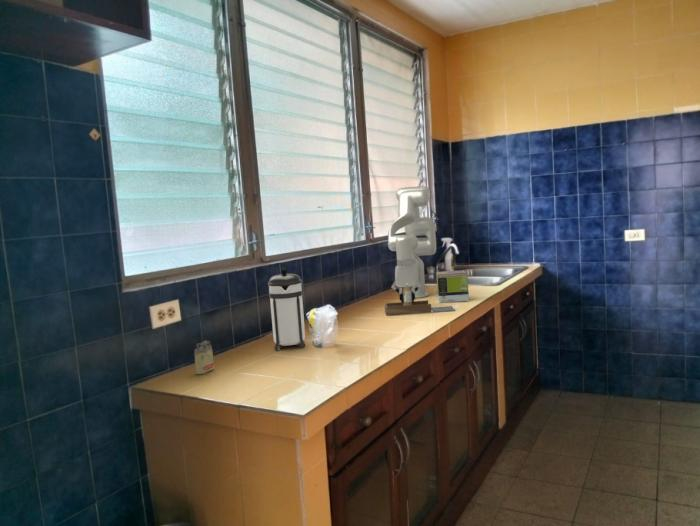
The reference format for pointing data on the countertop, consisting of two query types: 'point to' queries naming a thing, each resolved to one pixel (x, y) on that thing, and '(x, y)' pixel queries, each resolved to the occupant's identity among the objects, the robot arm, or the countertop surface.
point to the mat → (442, 309)
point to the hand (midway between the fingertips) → (407, 301)
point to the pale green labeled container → (204, 358)
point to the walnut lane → (407, 308)
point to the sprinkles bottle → (407, 295)
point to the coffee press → (287, 309)
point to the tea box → (452, 286)
